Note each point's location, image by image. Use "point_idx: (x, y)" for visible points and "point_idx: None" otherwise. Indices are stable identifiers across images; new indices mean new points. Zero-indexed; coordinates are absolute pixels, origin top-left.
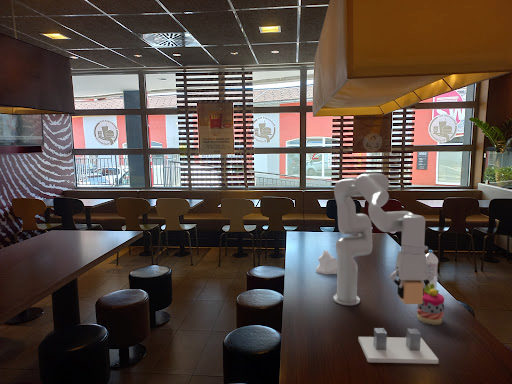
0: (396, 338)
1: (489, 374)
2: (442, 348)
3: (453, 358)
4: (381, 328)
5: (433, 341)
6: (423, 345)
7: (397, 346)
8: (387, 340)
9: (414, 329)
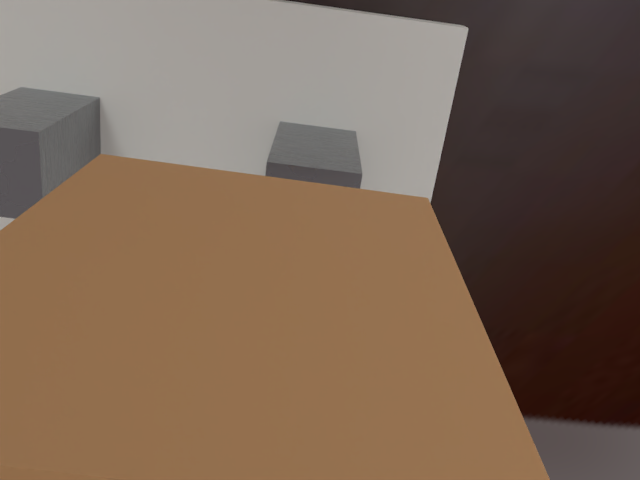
0: (245, 17)
1: (621, 393)
2: (559, 135)
3: (542, 250)
4: (13, 136)
5: (563, 33)
6: (412, 141)
7: (203, 135)
8: (156, 40)
9: (332, 184)
